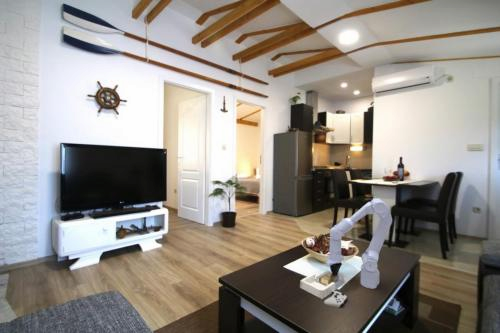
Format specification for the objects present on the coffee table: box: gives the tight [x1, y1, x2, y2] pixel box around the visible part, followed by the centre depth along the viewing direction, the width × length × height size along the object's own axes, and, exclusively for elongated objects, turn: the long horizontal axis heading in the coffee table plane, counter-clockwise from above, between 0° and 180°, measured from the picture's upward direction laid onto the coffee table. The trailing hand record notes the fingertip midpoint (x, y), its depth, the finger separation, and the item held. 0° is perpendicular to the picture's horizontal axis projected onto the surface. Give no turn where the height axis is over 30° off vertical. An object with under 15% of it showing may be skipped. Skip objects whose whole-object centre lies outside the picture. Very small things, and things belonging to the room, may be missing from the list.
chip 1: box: [320, 275, 333, 286], centre depth 116 cm, size 4×4×2 cm
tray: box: [299, 273, 336, 300], centre depth 110 cm, size 11×12×4 cm
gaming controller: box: [323, 290, 348, 309], centre depth 101 cm, size 11×6×7 cm
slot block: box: [315, 270, 347, 291], centre depth 118 cm, size 11×12×3 cm
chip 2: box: [326, 272, 338, 281], centre depth 119 cm, size 4×4×2 cm
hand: (334, 276), depth 121 cm, fingers closed
